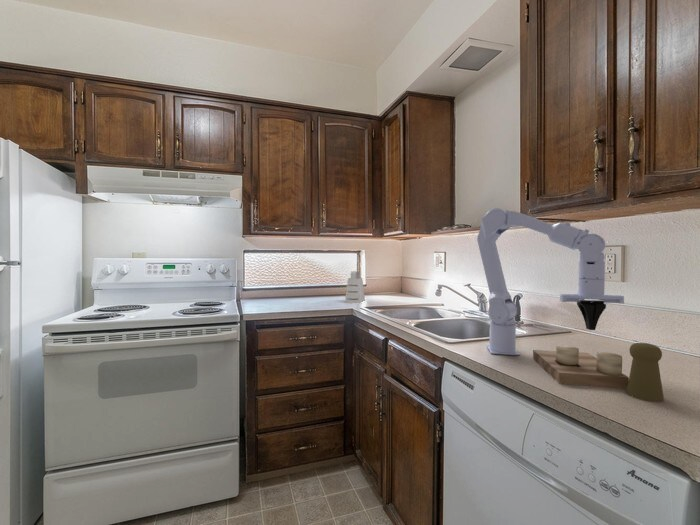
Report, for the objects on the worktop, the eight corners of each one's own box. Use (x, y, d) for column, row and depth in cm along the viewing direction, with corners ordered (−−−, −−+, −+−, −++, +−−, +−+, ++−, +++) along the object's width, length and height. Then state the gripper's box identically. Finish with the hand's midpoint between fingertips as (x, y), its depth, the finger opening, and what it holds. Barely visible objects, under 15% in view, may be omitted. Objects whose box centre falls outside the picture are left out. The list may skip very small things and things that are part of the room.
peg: (553, 369, 90) (553, 344, 90) (574, 371, 89) (574, 345, 89) (559, 375, 85) (559, 349, 85) (581, 377, 84) (581, 350, 84)
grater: (344, 303, 220) (344, 271, 220) (349, 301, 230) (350, 271, 230) (360, 303, 217) (360, 271, 216) (365, 301, 227) (365, 271, 226)
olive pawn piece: (626, 388, 77) (627, 339, 77) (663, 395, 74) (663, 343, 73) (626, 396, 73) (626, 344, 73) (665, 404, 69) (665, 349, 69)
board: (533, 358, 100) (533, 336, 100) (587, 361, 97) (587, 338, 97) (559, 383, 80) (559, 355, 80) (628, 388, 77) (628, 359, 77)
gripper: (567, 279, 90) (566, 331, 91) (631, 280, 87) (630, 333, 87) (557, 277, 97) (556, 325, 97) (616, 278, 94) (615, 328, 94)
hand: (590, 329), depth 93 cm, fingers closed
